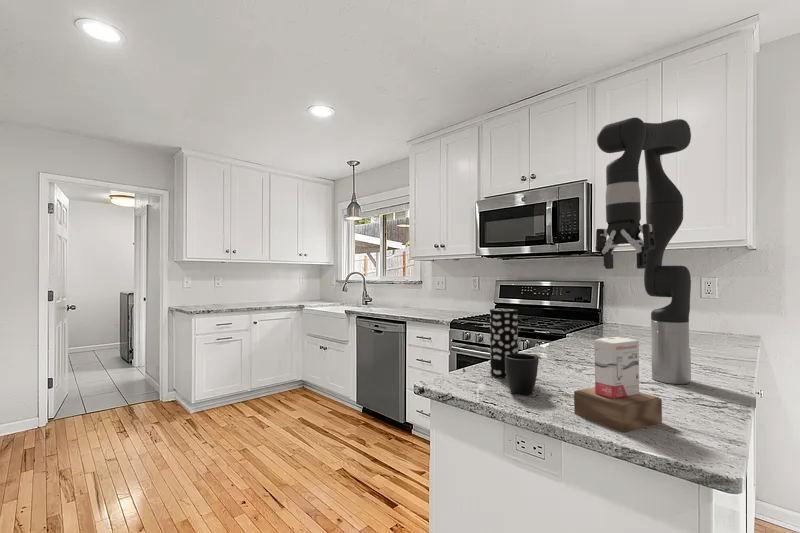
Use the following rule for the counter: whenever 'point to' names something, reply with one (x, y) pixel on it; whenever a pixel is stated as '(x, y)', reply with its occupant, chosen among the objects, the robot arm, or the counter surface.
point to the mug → (521, 373)
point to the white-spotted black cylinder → (502, 339)
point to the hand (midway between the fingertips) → (624, 268)
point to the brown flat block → (618, 409)
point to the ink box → (616, 367)
